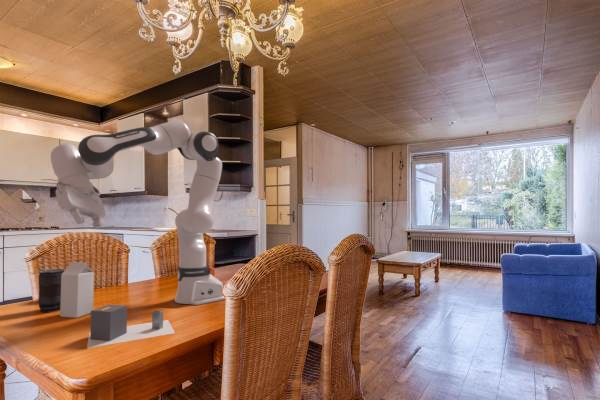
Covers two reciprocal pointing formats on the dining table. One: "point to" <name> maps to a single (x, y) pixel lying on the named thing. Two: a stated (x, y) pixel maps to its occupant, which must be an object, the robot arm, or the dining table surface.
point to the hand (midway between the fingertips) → (89, 225)
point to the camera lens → (50, 290)
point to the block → (108, 322)
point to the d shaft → (157, 319)
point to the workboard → (135, 334)
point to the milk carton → (77, 290)
